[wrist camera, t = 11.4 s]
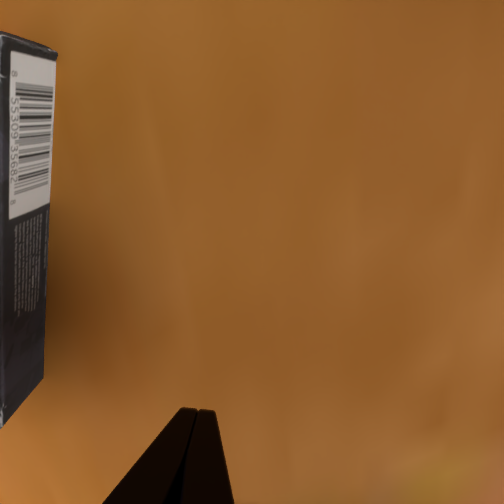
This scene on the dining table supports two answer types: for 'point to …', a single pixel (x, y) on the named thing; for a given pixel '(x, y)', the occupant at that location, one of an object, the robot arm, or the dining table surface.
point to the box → (24, 213)
